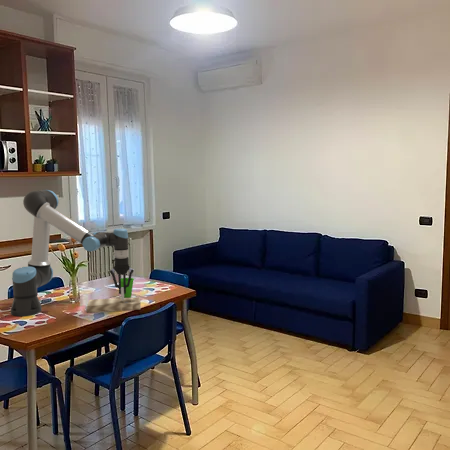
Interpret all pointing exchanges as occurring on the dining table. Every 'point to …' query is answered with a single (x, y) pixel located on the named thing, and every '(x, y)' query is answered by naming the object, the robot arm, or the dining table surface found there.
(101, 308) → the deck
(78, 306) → the dining table surface
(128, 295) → the cup
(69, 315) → the dining table surface
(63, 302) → the dining table surface
